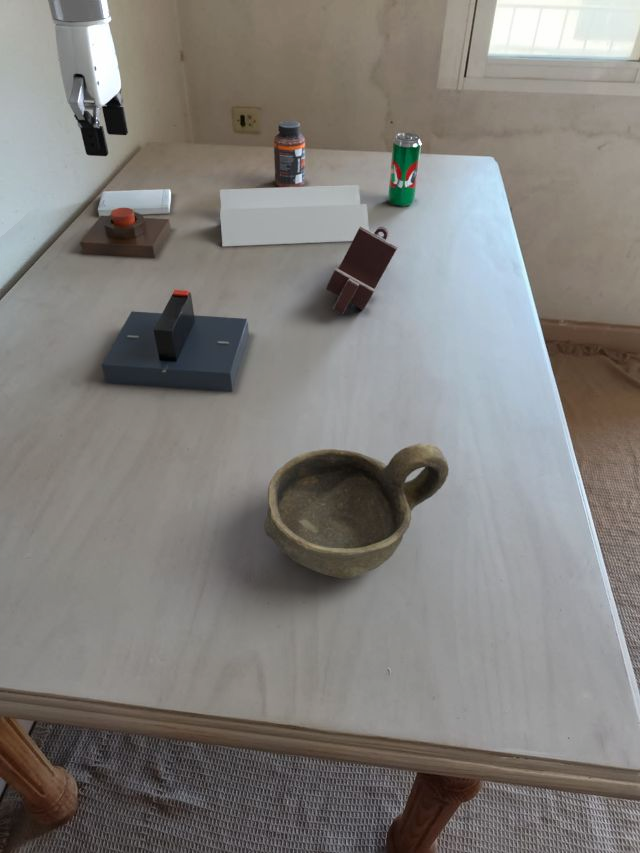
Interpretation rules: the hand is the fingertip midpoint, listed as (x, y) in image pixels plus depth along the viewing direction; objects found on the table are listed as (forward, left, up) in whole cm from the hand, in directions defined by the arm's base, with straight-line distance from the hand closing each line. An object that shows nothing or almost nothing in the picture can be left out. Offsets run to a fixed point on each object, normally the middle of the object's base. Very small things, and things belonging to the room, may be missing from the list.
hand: (108, 143), depth 95 cm
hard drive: (-3, +14, -16) cm, 22 cm away
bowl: (+41, -57, -16) cm, 72 cm away
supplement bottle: (+24, +28, -16) cm, 40 cm away
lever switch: (+17, -31, -16) cm, 39 cm away
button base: (0, 0, -16) cm, 16 cm away
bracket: (+40, -12, -16) cm, 45 cm away
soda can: (+46, +22, -16) cm, 54 cm away
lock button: (0, 0, -12) cm, 12 cm away
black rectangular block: (+17, -31, -13) cm, 38 cm away
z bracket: (+27, +9, -16) cm, 33 cm away
